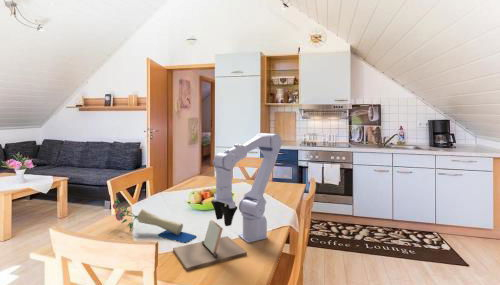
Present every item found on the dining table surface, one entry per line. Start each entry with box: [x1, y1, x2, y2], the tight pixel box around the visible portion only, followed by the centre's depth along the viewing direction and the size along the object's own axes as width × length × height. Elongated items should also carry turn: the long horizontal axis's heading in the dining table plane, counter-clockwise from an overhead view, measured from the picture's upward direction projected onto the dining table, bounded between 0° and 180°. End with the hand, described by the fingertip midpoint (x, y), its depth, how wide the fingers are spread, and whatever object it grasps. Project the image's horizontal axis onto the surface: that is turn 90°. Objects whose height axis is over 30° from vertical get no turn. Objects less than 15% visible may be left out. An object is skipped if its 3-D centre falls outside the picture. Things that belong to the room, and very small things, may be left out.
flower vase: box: [112, 197, 184, 235], centre depth 125 cm, size 12×12×35 cm
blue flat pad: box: [158, 230, 197, 244], centre depth 118 cm, size 7×1×15 cm
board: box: [172, 235, 248, 272], centre depth 104 cm, size 22×16×2 cm
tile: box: [203, 219, 224, 253], centre depth 104 cm, size 9×9×1 cm
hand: (223, 222), depth 106 cm, fingers open, 7 cm apart
